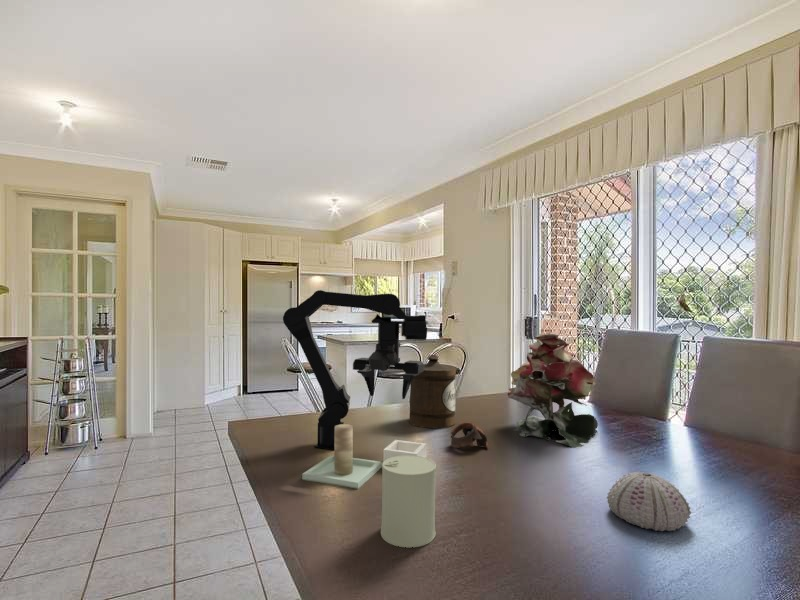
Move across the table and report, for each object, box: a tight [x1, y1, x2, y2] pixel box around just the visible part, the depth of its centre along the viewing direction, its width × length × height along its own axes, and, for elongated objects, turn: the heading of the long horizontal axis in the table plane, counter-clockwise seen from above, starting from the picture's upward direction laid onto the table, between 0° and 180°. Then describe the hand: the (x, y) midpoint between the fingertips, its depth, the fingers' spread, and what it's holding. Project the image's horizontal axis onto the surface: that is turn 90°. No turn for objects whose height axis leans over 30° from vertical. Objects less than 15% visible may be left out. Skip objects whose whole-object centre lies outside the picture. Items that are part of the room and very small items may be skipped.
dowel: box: [333, 423, 354, 475], centre depth 99 cm, size 4×4×10 cm
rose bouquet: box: [507, 333, 599, 449], centre depth 139 cm, size 26×29×30 cm
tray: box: [301, 454, 383, 490], centre depth 99 cm, size 13×13×2 cm
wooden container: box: [409, 354, 457, 429], centre depth 146 cm, size 15×15×22 cm
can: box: [380, 455, 437, 549], centre depth 75 cm, size 9×9×12 cm
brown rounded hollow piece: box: [450, 421, 490, 450], centre depth 120 cm, size 12×10×8 cm
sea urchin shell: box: [606, 471, 692, 532], centre depth 82 cm, size 13×14×8 cm
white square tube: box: [382, 439, 428, 463], centre depth 105 cm, size 8×8×5 cm
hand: (387, 397), depth 122 cm, fingers open, 9 cm apart
